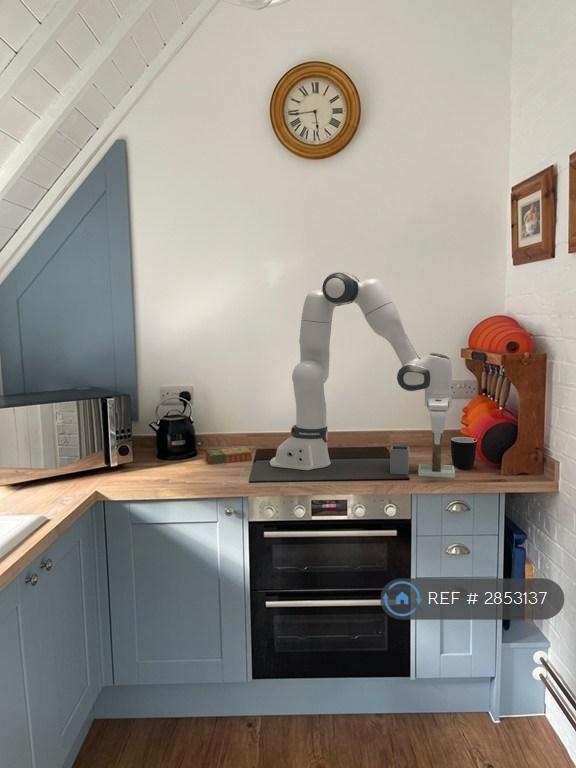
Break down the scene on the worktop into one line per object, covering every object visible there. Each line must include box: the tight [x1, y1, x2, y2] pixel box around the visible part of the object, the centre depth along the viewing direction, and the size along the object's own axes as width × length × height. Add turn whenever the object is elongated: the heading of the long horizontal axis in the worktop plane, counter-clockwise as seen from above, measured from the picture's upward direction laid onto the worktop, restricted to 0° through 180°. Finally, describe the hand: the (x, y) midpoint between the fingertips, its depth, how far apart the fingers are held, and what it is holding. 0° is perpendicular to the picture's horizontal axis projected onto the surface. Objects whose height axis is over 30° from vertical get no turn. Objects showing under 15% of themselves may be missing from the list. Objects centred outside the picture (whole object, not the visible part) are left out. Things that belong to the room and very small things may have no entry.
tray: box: [417, 463, 456, 479], centre depth 208 cm, size 12×10×2 cm
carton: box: [205, 446, 253, 466], centre depth 229 cm, size 8×16×4 cm, turn 110°
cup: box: [389, 445, 410, 475], centre depth 209 cm, size 6×6×9 cm
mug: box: [450, 436, 478, 470], centre depth 218 cm, size 12×9×10 cm
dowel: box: [431, 432, 443, 472], centre depth 207 cm, size 3×3×14 cm
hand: (436, 441), depth 206 cm, fingers open, 8 cm apart
